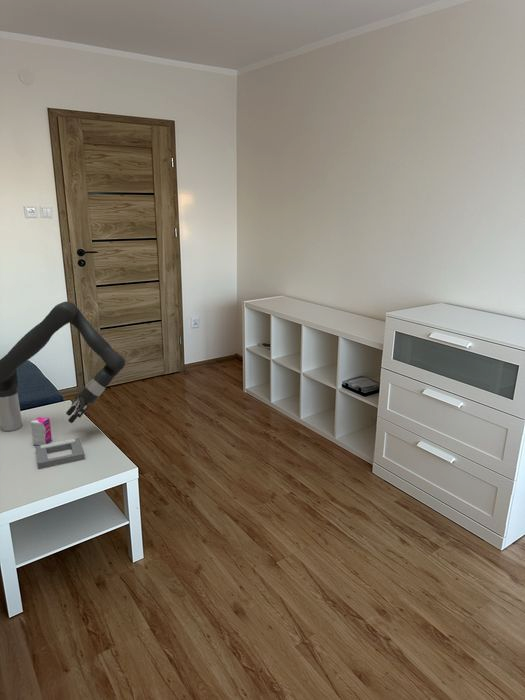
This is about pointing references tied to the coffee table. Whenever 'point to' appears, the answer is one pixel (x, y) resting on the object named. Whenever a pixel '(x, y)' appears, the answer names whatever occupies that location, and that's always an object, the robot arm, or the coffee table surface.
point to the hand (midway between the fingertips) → (68, 418)
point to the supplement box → (41, 431)
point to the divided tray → (59, 446)
